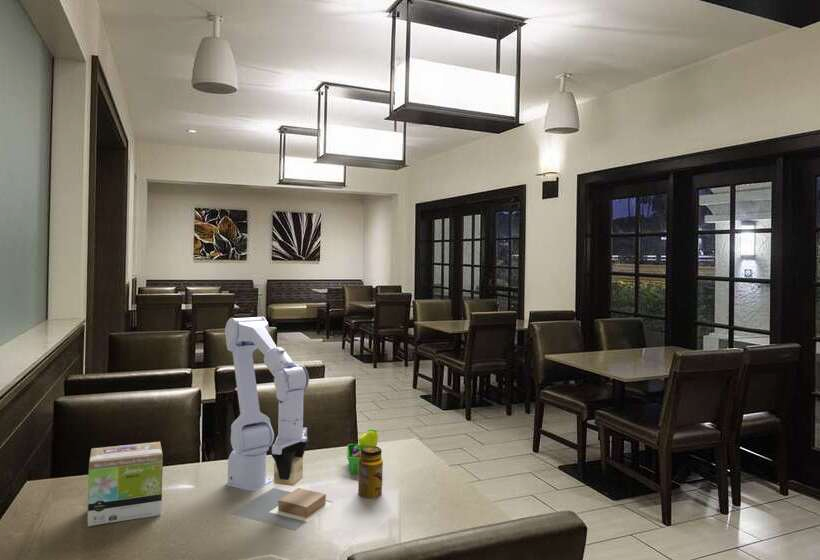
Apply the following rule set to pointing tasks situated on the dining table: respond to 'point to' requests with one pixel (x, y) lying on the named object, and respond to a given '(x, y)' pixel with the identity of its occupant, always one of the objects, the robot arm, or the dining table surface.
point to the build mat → (275, 510)
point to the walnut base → (302, 502)
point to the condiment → (370, 472)
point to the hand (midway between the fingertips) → (289, 474)
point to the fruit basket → (355, 449)
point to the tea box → (125, 483)
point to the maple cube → (291, 473)
